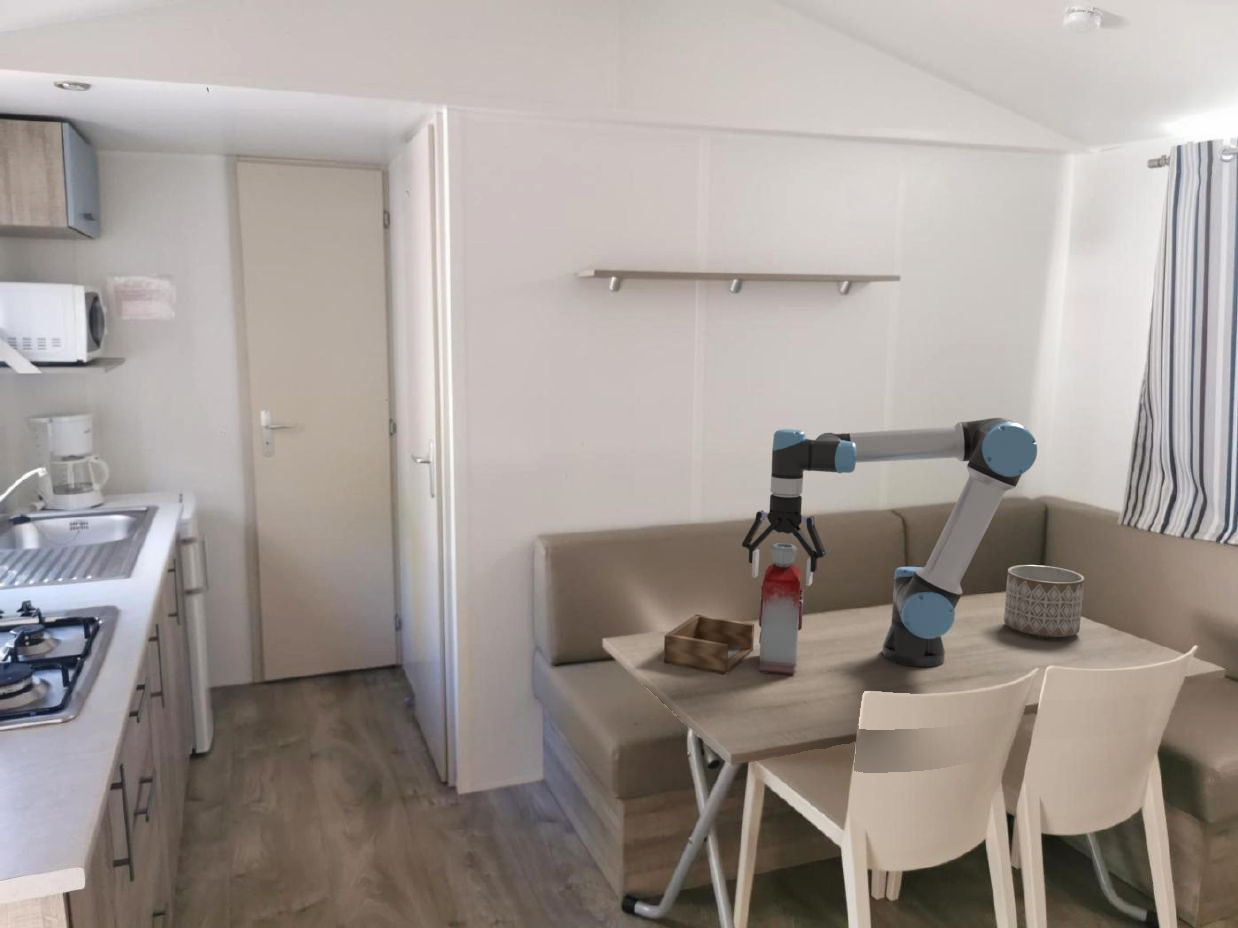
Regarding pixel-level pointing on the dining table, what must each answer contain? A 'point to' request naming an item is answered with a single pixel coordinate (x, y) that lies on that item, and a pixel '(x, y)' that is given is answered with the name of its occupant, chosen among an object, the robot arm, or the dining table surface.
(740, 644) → the wooden tray box
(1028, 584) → the planter
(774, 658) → the bottle
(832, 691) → the dining table surface
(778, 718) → the dining table surface
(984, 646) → the dining table surface
